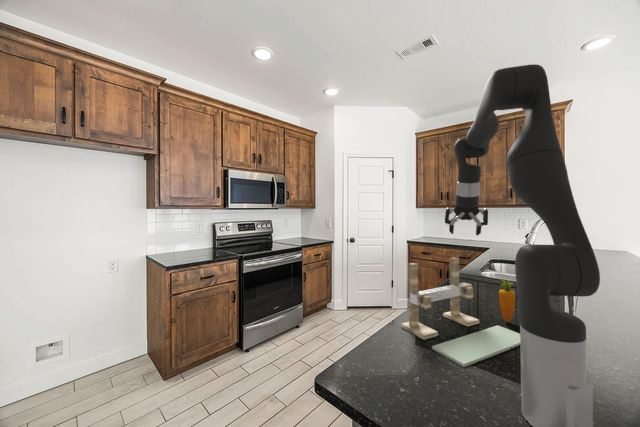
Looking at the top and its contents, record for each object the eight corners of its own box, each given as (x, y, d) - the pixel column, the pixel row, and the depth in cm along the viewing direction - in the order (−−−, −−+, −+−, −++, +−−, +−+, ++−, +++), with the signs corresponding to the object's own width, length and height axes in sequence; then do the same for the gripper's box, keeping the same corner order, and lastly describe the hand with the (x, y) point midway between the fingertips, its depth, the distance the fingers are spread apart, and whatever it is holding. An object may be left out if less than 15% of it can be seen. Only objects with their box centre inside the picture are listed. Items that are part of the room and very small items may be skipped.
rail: (472, 292, 94) (472, 284, 94) (417, 305, 84) (417, 295, 84) (464, 290, 97) (464, 282, 97) (410, 302, 86) (410, 293, 86)
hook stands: (479, 323, 92) (478, 260, 92) (423, 339, 82) (422, 268, 81) (454, 313, 101) (453, 256, 101) (401, 327, 91) (400, 263, 90)
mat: (531, 340, 79) (531, 338, 79) (463, 367, 67) (463, 364, 67) (497, 327, 89) (497, 325, 89) (432, 348, 76) (432, 346, 76)
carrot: (519, 326, 89) (518, 281, 89) (502, 325, 90) (502, 281, 90) (511, 320, 94) (511, 278, 94) (496, 319, 95) (495, 277, 95)
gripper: (446, 196, 97) (444, 236, 102) (492, 196, 91) (487, 239, 96) (445, 190, 103) (443, 229, 108) (488, 190, 98) (484, 231, 103)
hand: (464, 233), depth 102 cm, fingers open, 8 cm apart
